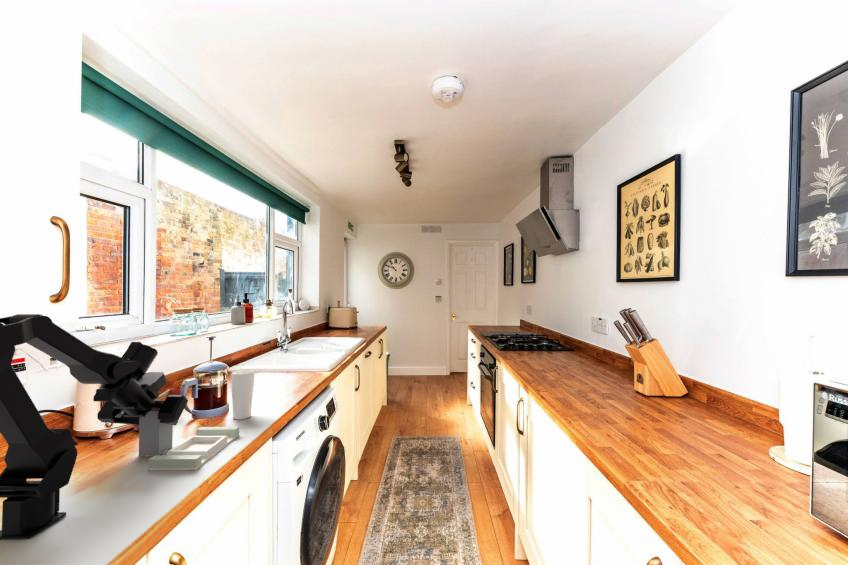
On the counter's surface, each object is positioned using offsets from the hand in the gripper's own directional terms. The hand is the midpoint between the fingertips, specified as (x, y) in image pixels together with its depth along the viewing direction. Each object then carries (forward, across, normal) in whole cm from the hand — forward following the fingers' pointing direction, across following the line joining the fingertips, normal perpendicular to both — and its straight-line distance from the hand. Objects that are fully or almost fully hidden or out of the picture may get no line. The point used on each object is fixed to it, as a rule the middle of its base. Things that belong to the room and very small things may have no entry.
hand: (160, 423), depth 94 cm
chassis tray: (+4, -11, +6) cm, 13 cm away
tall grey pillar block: (+4, 0, +6) cm, 7 cm away
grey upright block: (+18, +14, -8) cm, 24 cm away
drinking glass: (+22, -10, -12) cm, 27 cm away
